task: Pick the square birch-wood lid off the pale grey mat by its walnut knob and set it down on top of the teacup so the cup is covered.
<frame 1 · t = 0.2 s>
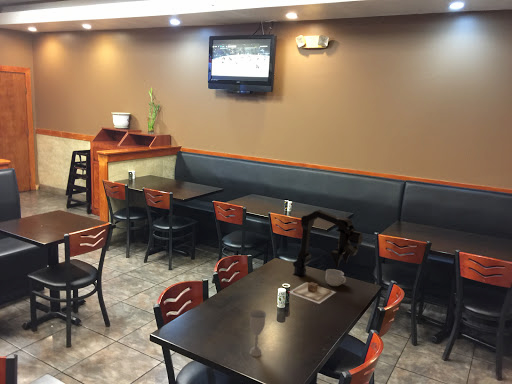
hand: (341, 265, 240), 14 cm above the table, tool pointing down, fingers open, 9 cm apart
chalice: (255, 353, 175), on the table
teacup: (335, 285, 248), on the table
lid: (312, 292, 236), resting on mat
mat: (312, 292, 236), on the table
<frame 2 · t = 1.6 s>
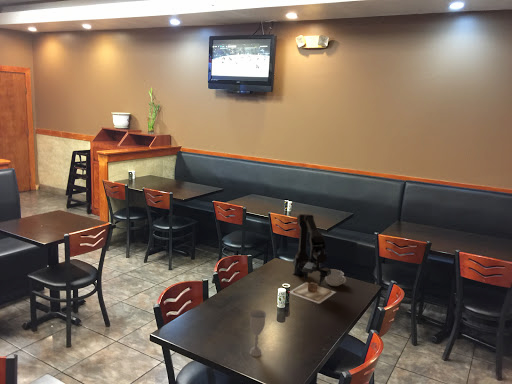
hand: (313, 282, 235), 6 cm above the table, tool pointing down, fingers open, 9 cm apart
nothing on the table moved.
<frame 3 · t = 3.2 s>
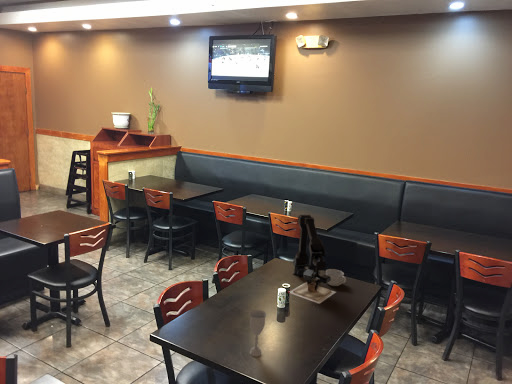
hand: (312, 289, 235), 2 cm above the table, tool pointing down, fingers closed on lid, 4 cm apart
lid: (312, 292, 236), resting on mat, touching gripper
everything else where it was.
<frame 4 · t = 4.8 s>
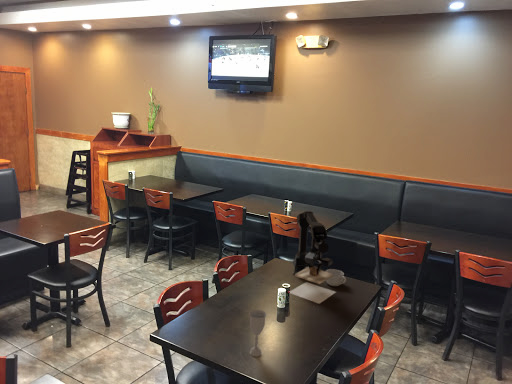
hand: (314, 273, 234), 12 cm above the table, tool pointing down, fingers closed on lid, 4 cm apart
lid: (314, 275, 234), point 10 cm above the table, touching gripper
everything else where it was.
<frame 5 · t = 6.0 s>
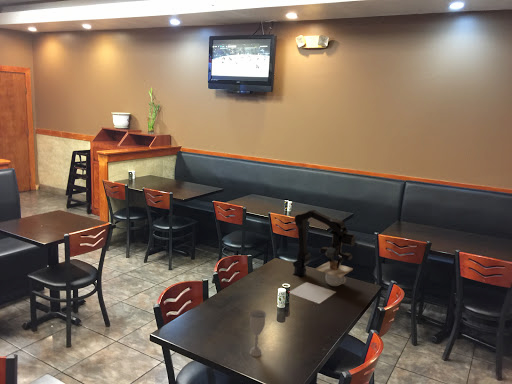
hand: (334, 267, 244), 12 cm above the table, tool pointing down, fingers closed on lid, 4 cm apart
lid: (334, 269, 244), point 10 cm above the table, touching gripper
everything else where it was.
when the fingers open (11 cm above the table, at t = 6.9 s): lid drops 1 cm, resting on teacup.
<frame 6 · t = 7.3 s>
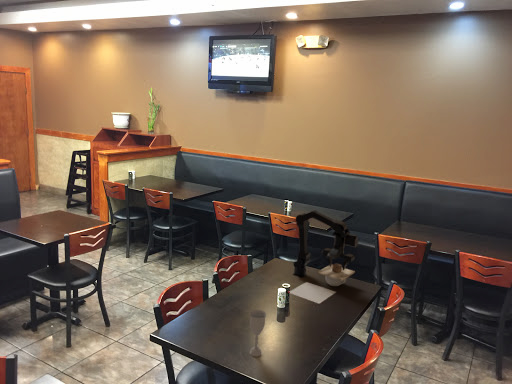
hand: (336, 268, 246), 11 cm above the table, tool pointing down, fingers open, 8 cm apart
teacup: (335, 285, 248), on the table, touching lid
lid: (336, 272, 246), point 8 cm above the table, touching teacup
everything else where it was.
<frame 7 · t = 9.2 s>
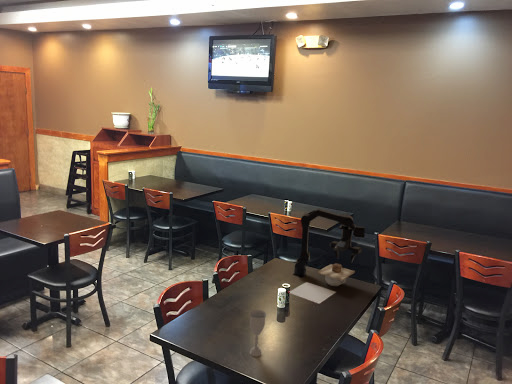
hand: (344, 260, 252), 13 cm above the table, tool pointing down, fingers open, 9 cm apart
nothing on the table moved.
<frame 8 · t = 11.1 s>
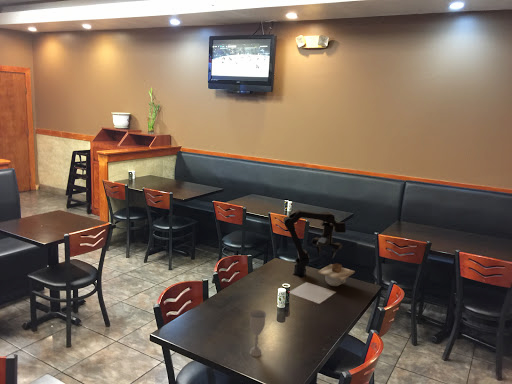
hand: (325, 256, 259), 13 cm above the table, tool pointing down, fingers open, 9 cm apart
nothing on the table moved.
at the end: lid 0.2 cm from the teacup (horizontally); lid point 7.9 cm above the table; lid tilted 0° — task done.
